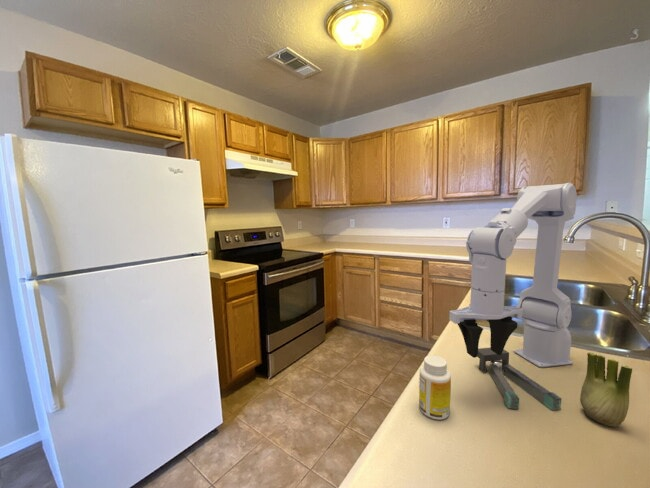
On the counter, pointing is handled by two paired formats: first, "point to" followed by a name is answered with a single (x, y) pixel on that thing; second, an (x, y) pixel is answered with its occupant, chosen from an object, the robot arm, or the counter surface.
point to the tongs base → (530, 386)
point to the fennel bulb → (606, 390)
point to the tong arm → (504, 387)
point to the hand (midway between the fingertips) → (484, 353)
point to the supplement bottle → (435, 388)
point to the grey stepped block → (491, 357)
